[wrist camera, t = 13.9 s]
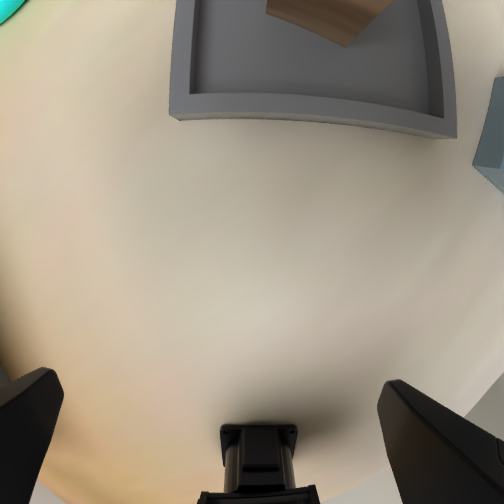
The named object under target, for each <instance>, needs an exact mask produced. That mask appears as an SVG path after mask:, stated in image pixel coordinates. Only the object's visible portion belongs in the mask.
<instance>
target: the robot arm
mask: <svg viewBox="0 0 504 504" xmlns="http://www.w3.org/2000/svg"><path fill="white" fill-rule="evenodd" d="M63 398H64V391H63V388H62V386H61V384H60V381H59V379H58V376H57V374H56V372H55V371H54V370H53V369H50V368H46V367H41V368H38V369H36V370H34V371H32V372H30V373H28V374H26V375H24V376H22V377H20V378H18V379H16V380H14V381H12V382H10V383H8V384H6V385H4V386H1V387H0V504H29V502H30V499H31V496H32V492H33V489H34V486H35V483H36V480H37V477H38V474H39V472H40V469H41V466H42V463H43V460H44V458H45V455H46V452H47V450H48V447H49V445H50V442H51V439H52V436H53V432H54V429H55V425H56V422H57V418H58V415H59V412H60V408H61V405H62V402H63ZM377 410H378V415H379V419H380V424H381V428H382V433H383V437H384V442H385V447H386V451H387V456H388V459H389V462H390V465H391V468H392V471H393V474H394V477H395V480H396V483H397V486H398V490H399V493H400V496H401V499H402V502H403V504H504V441H502V440H501V439H499V438H496V437H495V436H493V435H492V434H490V433H488V432H487V431H485V430H483V429H482V428H480V427H478V426H476V425H475V424H473V423H471V422H470V421H468V420H466V419H465V418H463V417H461V416H460V415H458V414H456V413H455V412H453V411H451V410H450V409H448V408H446V407H445V406H443V405H441V404H440V403H438V402H437V401H435V400H433V399H432V398H430V397H428V396H427V395H425V394H423V393H422V392H420V391H419V390H417V389H415V388H414V387H412V386H411V385H409V384H407V383H406V382H404V381H402V380H400V379H396V380H390V381H387V382H385V384H384V386H383V389H382V392H381V395H380V398H379V400H378V404H377ZM297 433H298V429H297V426H295V425H282V426H222V427H221V428H220V439H221V449H222V459H223V466H224V467H225V480H224V493H209V492H204V491H202V492H201V495H200V499H198V502H197V504H320V501H319V497H318V493H317V490H316V486H315V484H314V485H308V487H301V488H296V486H295V479H294V471H293V464H292V459H293V454H294V449H295V444H296V439H297Z"/></svg>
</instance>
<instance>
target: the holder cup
mask: <svg viewBox="0 0 504 504" xmlns="http://www.w3.org/2000/svg"><path fill="white" fill-rule="evenodd" d="M472 166H473V167H475V168H476V169H477V170H478V171H479V172H480V173H481V174H483V175H484V176H485V177H486V178H487V179H488V180H489V181H490V182H491V183H493V184H494V185H495V186H496V187H497V188H498V189H499V190H500V191H501V192H502V193H503V194H504V77H500V78H495V81H494V86H493V91H492V96H491V100H490V105H489V109H488V113H487V117H486V121H485V125H484V129H483V132H482V136H481V139H480V143H479V146H478V149H477V152H476V156H475V159H474V162H473V165H472Z"/></svg>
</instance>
